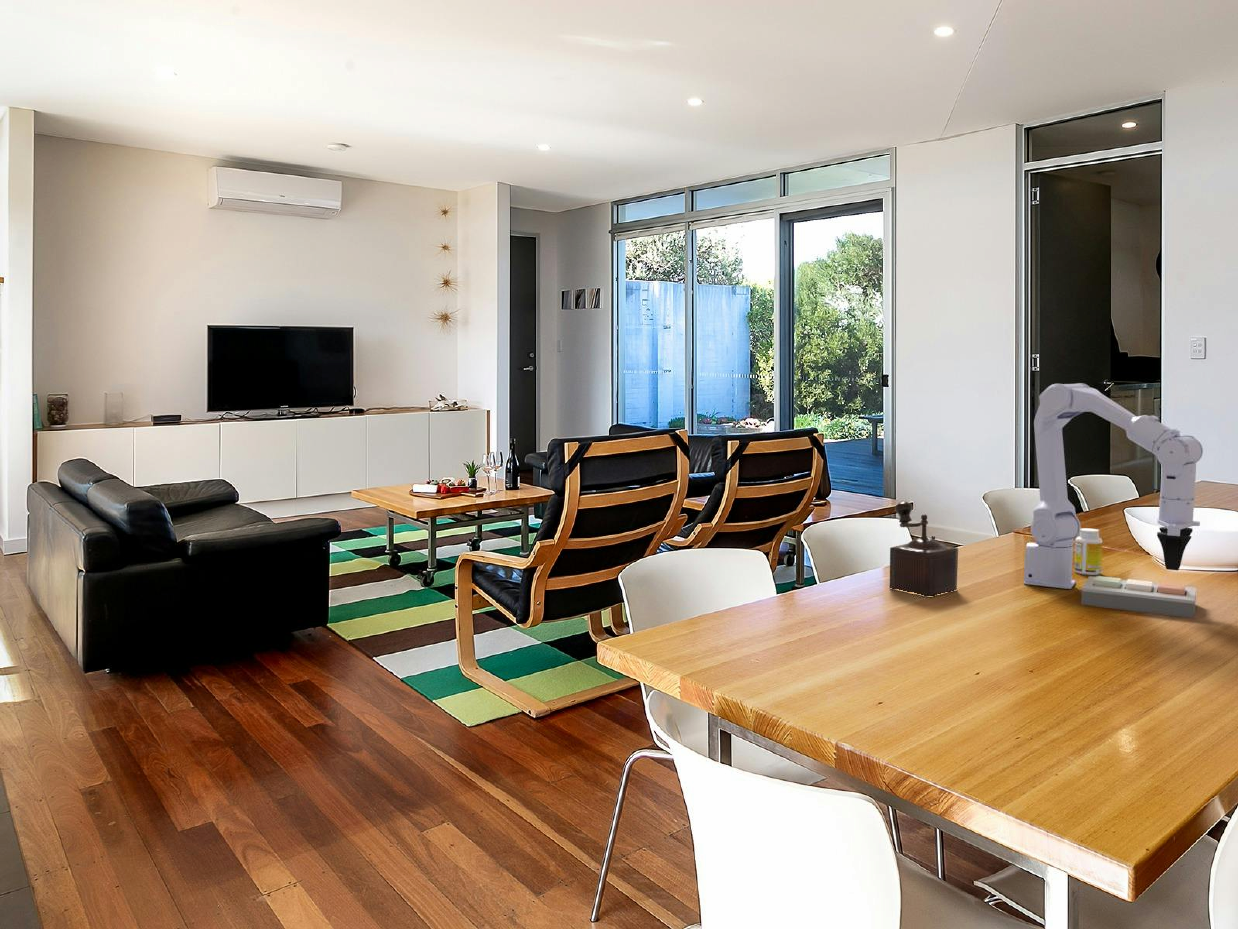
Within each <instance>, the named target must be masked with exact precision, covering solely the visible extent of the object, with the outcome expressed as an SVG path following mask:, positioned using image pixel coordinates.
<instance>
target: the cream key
mask: <svg viewBox="0 0 1238 929" xmlns="http://www.w3.org/2000/svg"><path fill="white" fill-rule="evenodd" d="M1126 580H1127V582H1126V589H1129V590H1138V591H1147V592H1152V586H1153V583H1154V582H1153V581H1147V580H1138V579H1129V578H1128V579H1126Z"/></svg>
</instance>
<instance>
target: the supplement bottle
mask: <svg viewBox="0 0 1238 929" xmlns="http://www.w3.org/2000/svg"><path fill="white" fill-rule="evenodd" d="M1074 544H1075V545H1074V572H1075V573H1077V574H1079V575H1084V576H1099V575H1100V574H1101V573H1102V565H1103V564H1102V561H1103V560H1102V559H1103V539H1102V538H1101V537H1100V530H1099V529H1097V528H1090V527H1089V528H1088V527H1087V528H1085V527H1084V528H1082V527H1081V530H1080V533H1079V536H1077V537H1076V538H1075V540H1074Z"/></svg>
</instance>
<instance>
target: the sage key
mask: <svg viewBox="0 0 1238 929" xmlns="http://www.w3.org/2000/svg"><path fill="white" fill-rule="evenodd" d="M1095 577H1096V578H1095V580H1094V586H1102V587H1111V588H1121V580H1122V578H1121V577H1113V576H1112V577H1111V576H1101V575H1096V576H1095Z"/></svg>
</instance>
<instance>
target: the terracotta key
mask: <svg viewBox="0 0 1238 929" xmlns="http://www.w3.org/2000/svg"><path fill="white" fill-rule="evenodd" d="M1158 584H1159V586H1158V593H1165V594H1174V595H1183V596H1185V587H1186V584H1179V583H1178V584H1177V583H1168V582H1159V583H1158Z"/></svg>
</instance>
